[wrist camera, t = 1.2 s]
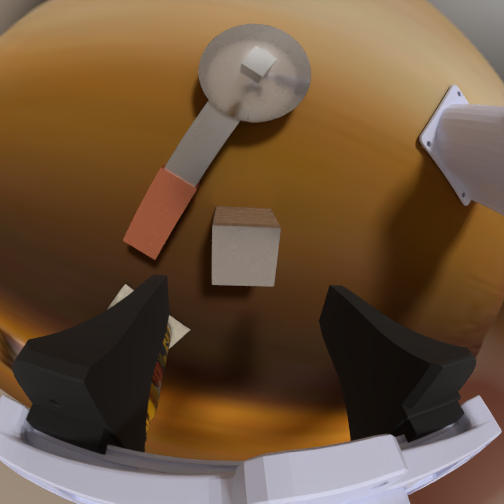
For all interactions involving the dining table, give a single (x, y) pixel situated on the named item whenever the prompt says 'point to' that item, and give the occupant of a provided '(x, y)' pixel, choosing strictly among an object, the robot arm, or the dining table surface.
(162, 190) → the metal scoop
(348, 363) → the robot arm
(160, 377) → the condiment
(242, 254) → the brushed metal cube
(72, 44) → the dining table surface
